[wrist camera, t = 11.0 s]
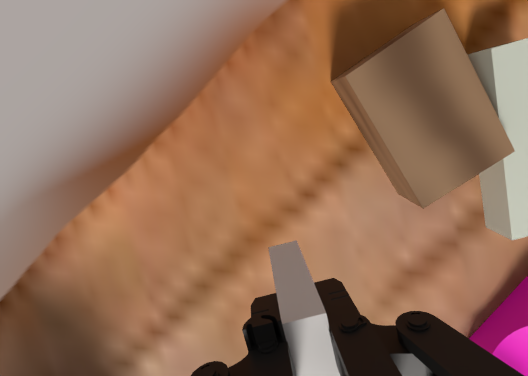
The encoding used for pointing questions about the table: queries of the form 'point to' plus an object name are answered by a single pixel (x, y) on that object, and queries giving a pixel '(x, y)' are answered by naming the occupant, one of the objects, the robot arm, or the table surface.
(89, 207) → the table surface
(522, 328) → the magenta arch bracket
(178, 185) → the table surface
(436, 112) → the walnut block
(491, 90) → the board
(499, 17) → the table surface
